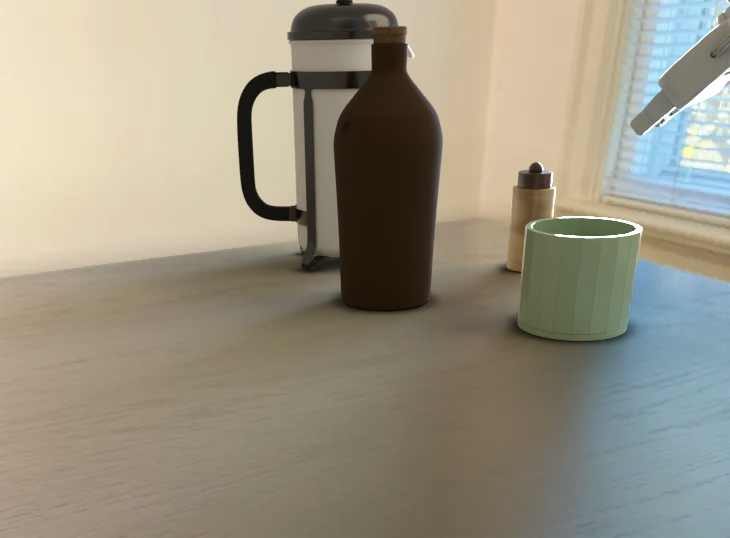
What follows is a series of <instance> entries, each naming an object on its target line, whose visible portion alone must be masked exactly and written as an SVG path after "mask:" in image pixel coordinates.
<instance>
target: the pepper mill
mask: <svg viewBox="0 0 730 538" xmlns="http://www.w3.org/2000/svg"><path fill="white" fill-rule="evenodd" d="M553 177H554V172H553V171H552V170H547V169H544V166H543V165H542V163H540V162H538V161H535V162H532V163H530V165H529V167H528V169H525V170H524V169H522V170H519V171H518V174H517V184H516V185H513V186H512V191H511V192H512V193H511V204H510V205H511V206H510V217H509V229H508V240H507V243H508V244H507V253H506V254H507V255H506V266H505V267H506V268H507V269H508V270H509V271H514V272H519V273H521V271H522V260H523V248H524V237H525V226H526V225H527V224H528V223H529V222H532V221H535V220H539V219H546V218H554V211H555V201H556V192H557V187H556V186H554V185H553Z"/></svg>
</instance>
